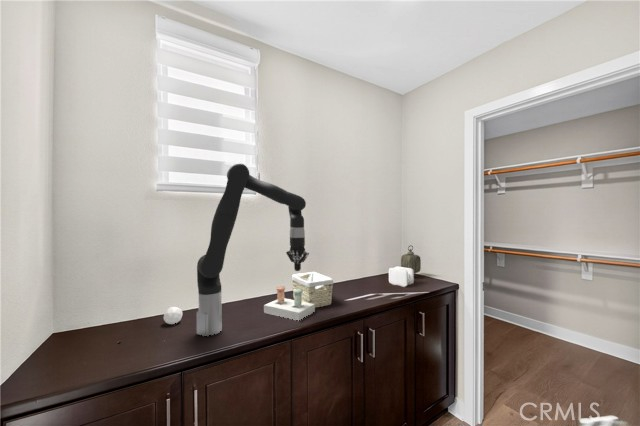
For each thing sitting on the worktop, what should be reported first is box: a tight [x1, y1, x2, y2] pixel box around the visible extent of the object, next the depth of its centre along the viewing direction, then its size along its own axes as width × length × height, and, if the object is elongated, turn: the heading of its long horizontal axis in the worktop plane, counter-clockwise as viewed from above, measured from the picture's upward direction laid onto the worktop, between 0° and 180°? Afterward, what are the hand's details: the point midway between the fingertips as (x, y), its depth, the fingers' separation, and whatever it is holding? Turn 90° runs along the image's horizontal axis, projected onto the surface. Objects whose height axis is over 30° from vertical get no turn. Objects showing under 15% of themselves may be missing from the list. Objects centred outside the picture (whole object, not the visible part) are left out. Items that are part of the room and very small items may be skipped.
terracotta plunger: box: [275, 285, 286, 302], centre depth 141 cm, size 5×5×7 cm
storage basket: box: [291, 271, 334, 309], centre depth 154 cm, size 24×16×15 cm
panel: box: [263, 297, 316, 322], centre depth 138 cm, size 14×22×4 cm, turn 59°
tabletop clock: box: [400, 245, 422, 279], centre depth 209 cm, size 14×9×25 cm, turn 130°
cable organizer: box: [388, 265, 415, 288], centre depth 189 cm, size 15×11×12 cm
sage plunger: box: [292, 289, 302, 306], centre depth 135 cm, size 5×5×7 cm
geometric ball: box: [163, 306, 183, 325], centre depth 125 cm, size 8×8×8 cm
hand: (297, 270), depth 135 cm, fingers closed
